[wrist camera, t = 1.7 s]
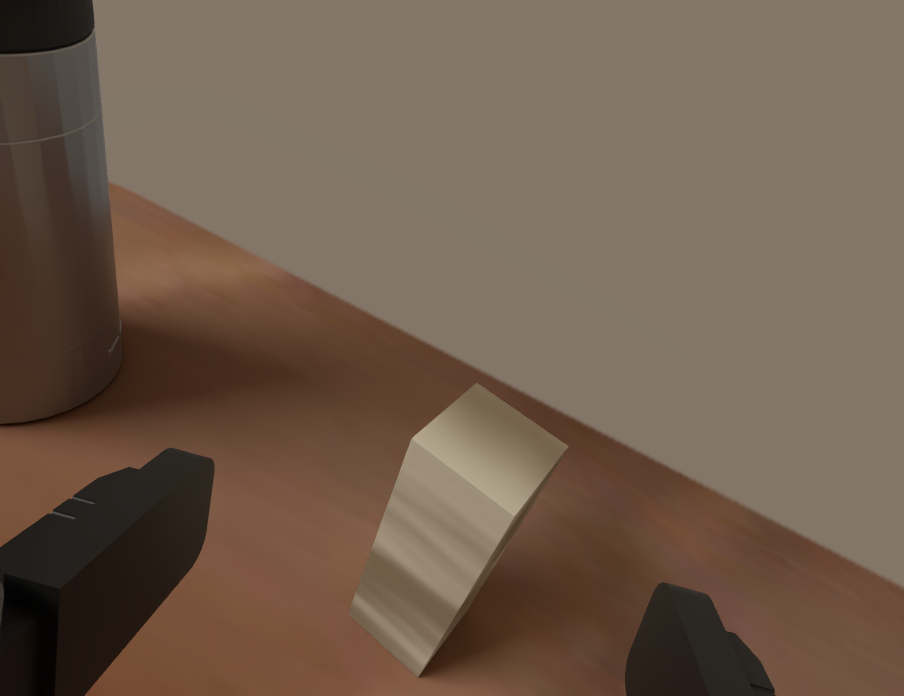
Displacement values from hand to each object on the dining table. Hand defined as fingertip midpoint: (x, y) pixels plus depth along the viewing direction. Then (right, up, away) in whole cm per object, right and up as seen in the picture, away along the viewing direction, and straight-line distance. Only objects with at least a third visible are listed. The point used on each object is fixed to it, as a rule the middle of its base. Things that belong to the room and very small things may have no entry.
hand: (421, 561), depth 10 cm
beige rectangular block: (-1, -8, +17) cm, 19 cm away
